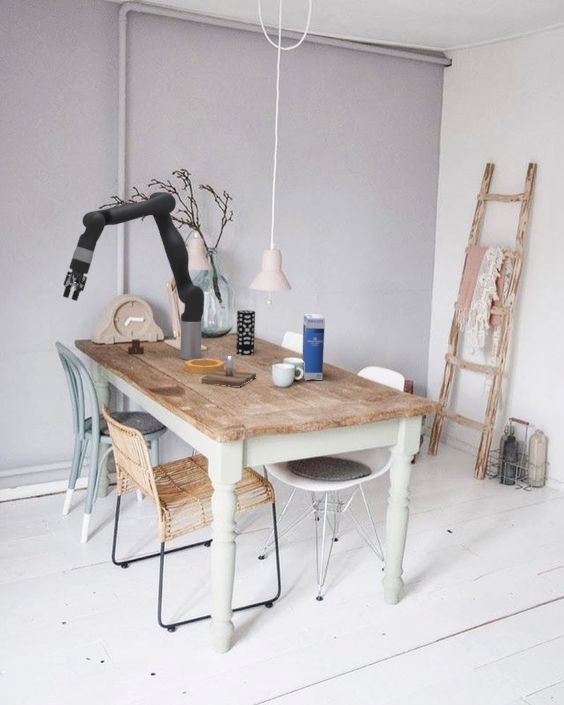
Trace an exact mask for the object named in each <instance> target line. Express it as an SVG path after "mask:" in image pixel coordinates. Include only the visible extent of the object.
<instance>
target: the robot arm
mask: <svg viewBox="0 0 564 705" xmlns="http://www.w3.org/2000/svg"><path fill="white" fill-rule="evenodd" d="M176 205H177V201H176V198H175V196H173V195H172V194H171V193H169V192H166V191H165V192H164V191H156V192H153V193H151V194H150V196H149V197H148V199H146V200H143V201H137V202H131V203H125V204H119V205H116V206H115V205H114V206H112V207H109V208H106V209H105V208H104V209H98V210H92V211H89V212H87V213H85V214H84V215H83V217H82V225H83V226H84V227H85V230H84V232H83V233H82V234H80V235H79V239H78V240H77V244H76V247H75V249H74V250H73V251H74V252H73V254H72V258H71V261H70V263H69V269H70V270H72V271H67V273H66V275H65V278H64V282H63V286H64V291H63V295H62V296H63V298H66V299H68V298H69V296H70V294H71V291H72V288H73V287H74V288H73V292H72V295H71V300H73V301H75V302H76V301H78V299H79V295H80V293H81V292H83V291H84V290H85V287H86V283H87V279H88V277H87V275H88V274H89V271H90V267H91V264H92V262H93V257H94V252H95V249H96V247H97V243H98V240H99V239H100V238H101V235H102V233H103V231H104V229H105V227H106V226H114V225H119V224H123V223H126V222H130V221H133V220H137V219H140V218H144V217H148V216H153V220H154V221H155V223H156V226H157V230H158V233H159V236H160V239H161V242H162V245H163V248H164V251H165V254H166V257H167V260H168V263H169V264H168V265H169V266H170V270H171V272H172V275H173V278H174V282H175V286H176V292H177V295H178V298H179V301H180V302H181V303H183V304H184V310H183V313H181V314H180V359H181V360H186V361H189V360H192V359H202V318H203V316H204V310H205V309H204V306H205V293H204V290H203V288H201V287H200V286H198V285H196V284H194V283H193V281H192V278H191V275H190V272H189V252H188V249H187V245H186V242H185V240H184V237H183V236H182V234H181V232H180V231H179V230H178V229H177V227H176V226H175V224H174V222H173V220H172V216H171V213H173V211H174V210H175V208H176Z"/></svg>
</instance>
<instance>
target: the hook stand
mask: <svg viewBox="0 0 564 705" xmlns="http://www.w3.org/2000/svg"><path fill="white" fill-rule="evenodd" d="M234 358H235V356H234V355H232V354H231V355H222V356H221V359H222V360H225V369H224V370H222V369H219V370H217V371H215V372H213V373H211V374H206V376H203V377H202V378H200V379H201V380H200V382H202V383H201V384H203V383H209V384H208V385H211V384H219V385H230V386H241V385H243V384H244V383H246V382H248V381H250V380H251V379H253V378H255V377H256V378H257V372H248V371H241V370H240V371H239V370H234ZM256 378H255V379H256ZM250 382H251V381H250ZM219 385H218V386H219ZM243 386H244V385H243Z"/></svg>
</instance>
